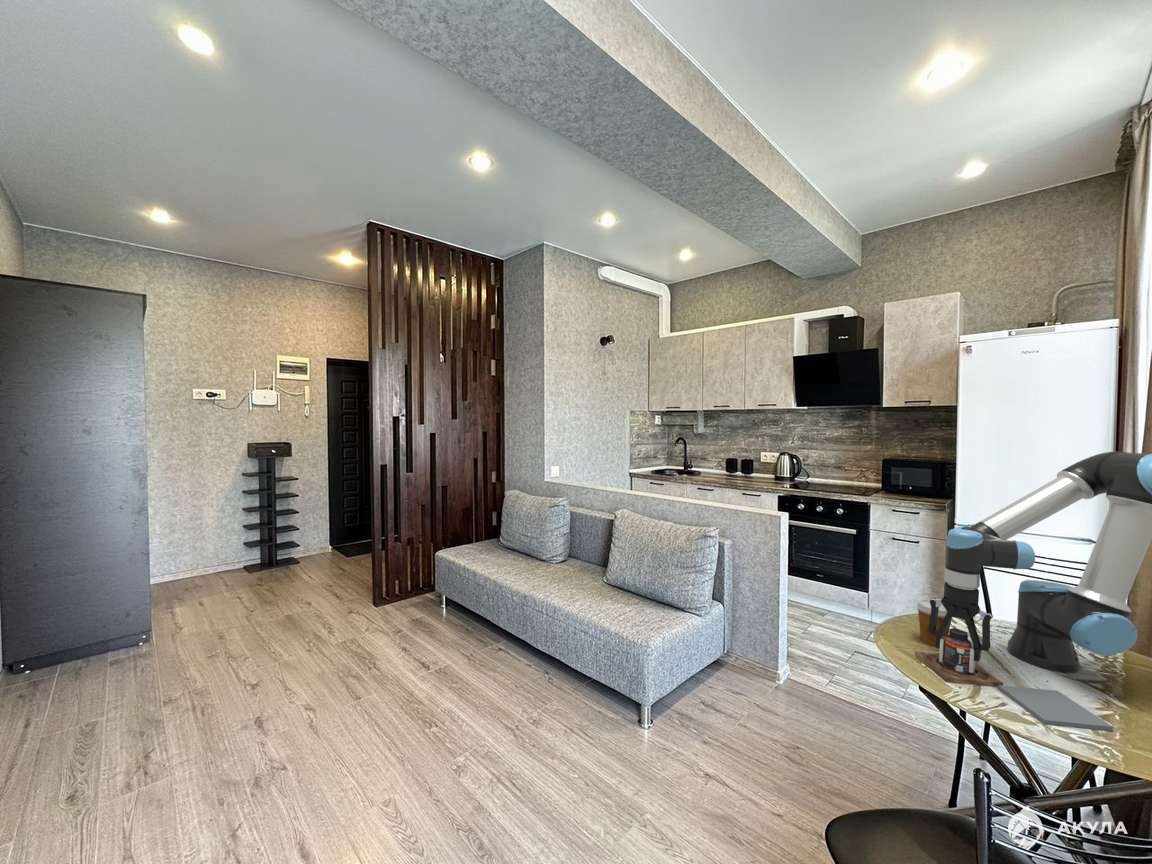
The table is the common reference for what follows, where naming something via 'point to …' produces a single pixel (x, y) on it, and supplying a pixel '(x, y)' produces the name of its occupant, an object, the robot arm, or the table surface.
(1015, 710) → the table surface
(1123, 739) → the table surface
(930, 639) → the disposable coffee cup
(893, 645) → the table surface
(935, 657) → the socket board
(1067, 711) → the slate pad
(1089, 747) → the table surface
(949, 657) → the supplement bottle
